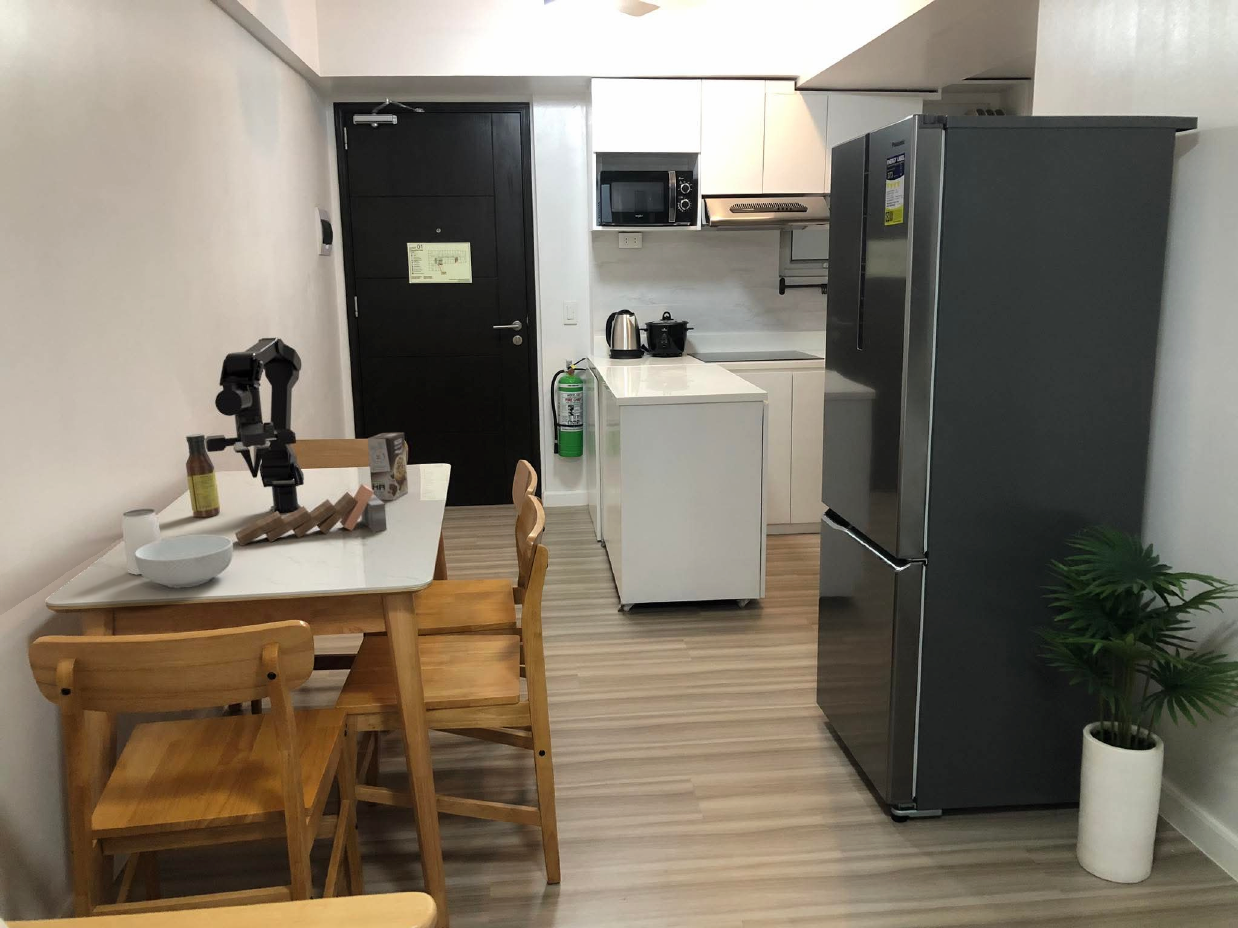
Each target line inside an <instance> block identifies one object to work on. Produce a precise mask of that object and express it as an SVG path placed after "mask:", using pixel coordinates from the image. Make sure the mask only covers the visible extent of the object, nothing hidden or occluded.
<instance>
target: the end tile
mask: <svg viewBox="0 0 1238 928" xmlns="http://www.w3.org/2000/svg"><path fill="white" fill-rule="evenodd" d="M373 493H374V491H372V489H371V487H370V486H367V485H365V484H362V483H361V484H360V486H359V488H358V490H357V491H356V493H355V495H354V496H353V498H354V499H355V500H357V501H358V503H357V504H356V505H355V506H354V507H353V508H352V509H351V510H350V511H349V512H348V513H347V514H346V515H345V516H344V517H343V518H342V519H341V520H340V521H339V523H340V524H341V525H342V526H343V528H345V529H347V530H349V531H351V532H352V531H353V530H354V528H355V527H356V524H357V523H358V522H359V520H360V518H361V514H362V512H363V510H364V509H365V507H366V505H367V503H368V502H369V500H370V498H371V496H372V495H373Z"/></svg>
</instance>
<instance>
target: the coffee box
mask: <svg viewBox="0 0 1238 928" xmlns="http://www.w3.org/2000/svg"><path fill="white" fill-rule="evenodd" d="M405 441H406V440H405V432H382V433H379V434H376V435H374V436H370V437H368V438H367V443H368V444H367V445H368V446H367V447H368V458H369V459H368V460H369V472H370V489H371V490H372V491H374V493H373V494H374V495H375V496H376V497H377V498H378V499H380V500H381V501H394V500H397V499H399V498H401V497H403V496H404V495H407V494H408V493H409V483H408V470H407V469H408V468H407V455H406V452H407V451H406V442H405Z"/></svg>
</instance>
